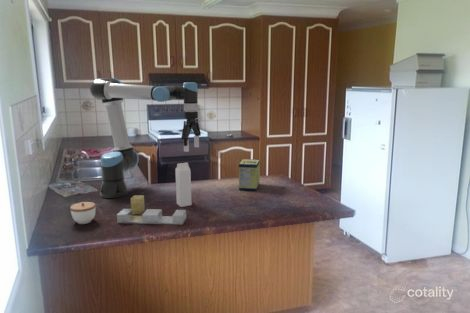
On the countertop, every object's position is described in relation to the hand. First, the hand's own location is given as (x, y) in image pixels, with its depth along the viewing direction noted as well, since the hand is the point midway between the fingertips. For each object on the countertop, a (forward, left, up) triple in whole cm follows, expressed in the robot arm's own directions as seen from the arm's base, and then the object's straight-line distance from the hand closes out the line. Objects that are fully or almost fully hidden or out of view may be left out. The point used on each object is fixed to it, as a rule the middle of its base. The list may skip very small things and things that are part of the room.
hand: (191, 149), depth 212 cm
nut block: (-21, -34, -25) cm, 47 cm away
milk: (-1, -21, -25) cm, 33 cm away
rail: (-11, -44, -25) cm, 51 cm away
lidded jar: (-42, -47, -25) cm, 68 cm away
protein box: (+32, +13, -25) cm, 43 cm away
